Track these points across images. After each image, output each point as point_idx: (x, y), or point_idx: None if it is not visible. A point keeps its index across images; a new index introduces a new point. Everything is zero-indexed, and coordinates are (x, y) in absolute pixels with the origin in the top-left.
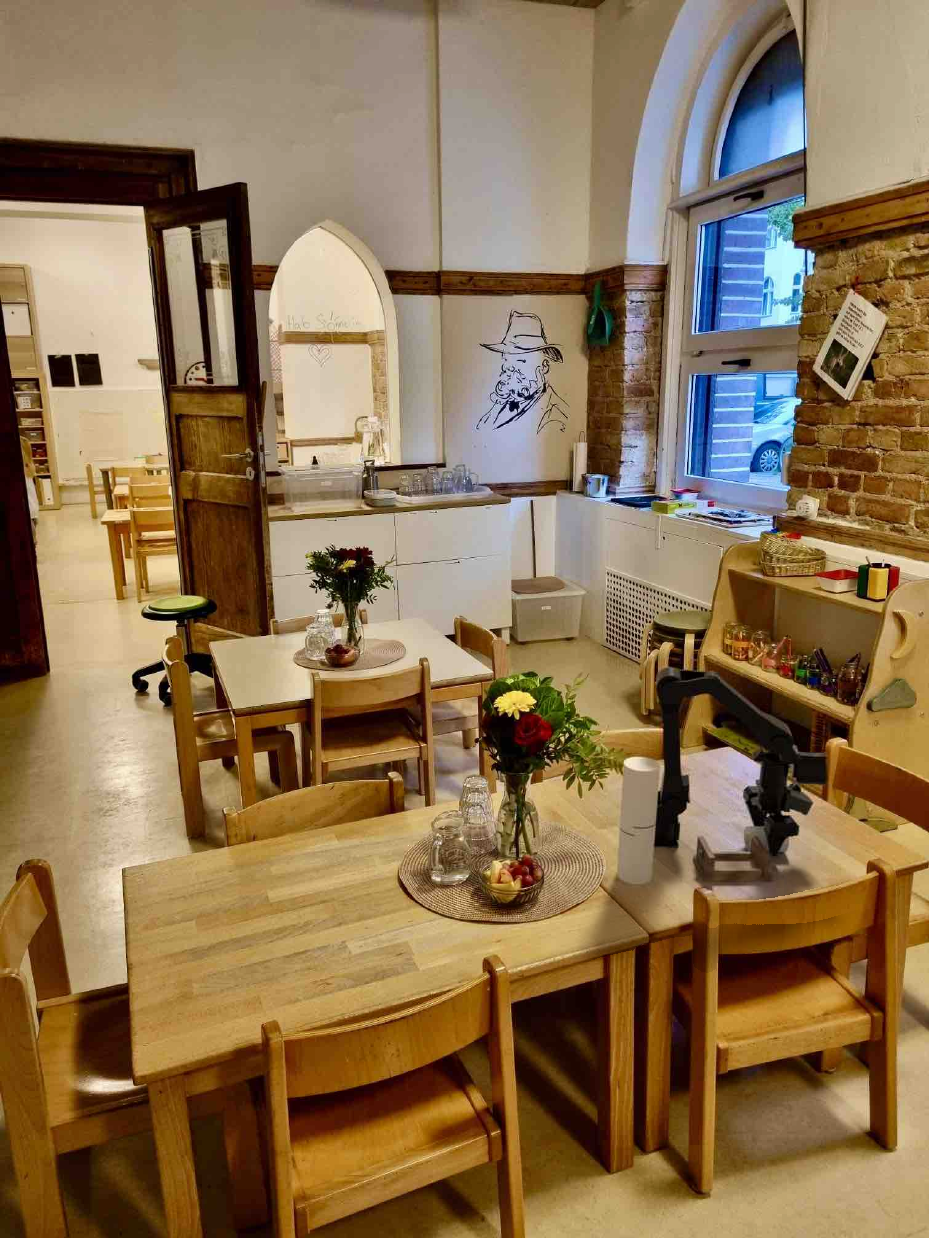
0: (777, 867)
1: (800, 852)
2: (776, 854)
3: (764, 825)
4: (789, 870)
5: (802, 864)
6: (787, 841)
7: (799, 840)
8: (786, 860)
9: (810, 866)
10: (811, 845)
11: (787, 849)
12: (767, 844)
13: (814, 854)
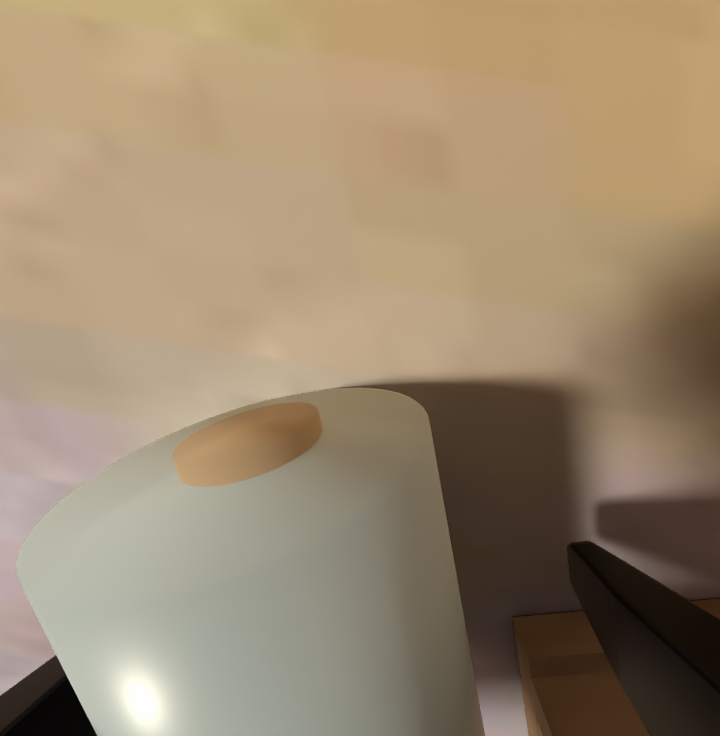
0: (641, 492)
1: (303, 228)
2: (614, 563)
3: (42, 705)
4: (699, 398)
5: (565, 246)
6: (426, 463)
7: (47, 200)
8: (497, 394)
9: (605, 160)
10: (108, 73)
11: (406, 398)
12: (473, 671)
13: (311, 66)
